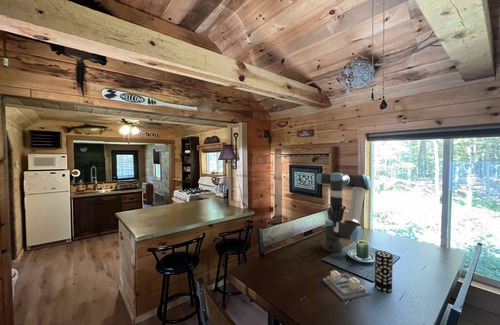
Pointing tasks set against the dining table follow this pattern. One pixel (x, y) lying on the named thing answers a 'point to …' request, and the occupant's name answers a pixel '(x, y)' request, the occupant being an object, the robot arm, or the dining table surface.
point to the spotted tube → (383, 271)
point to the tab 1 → (335, 276)
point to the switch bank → (345, 288)
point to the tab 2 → (354, 283)
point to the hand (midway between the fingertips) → (336, 231)
